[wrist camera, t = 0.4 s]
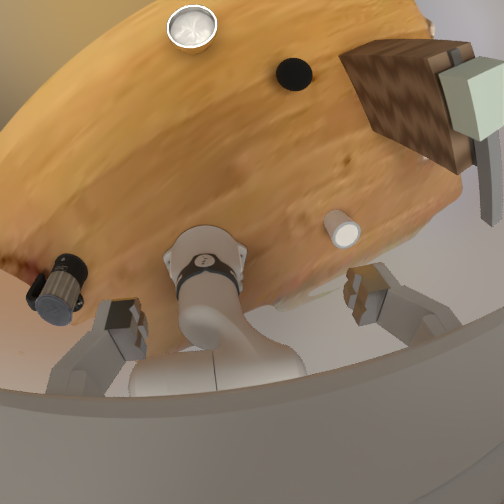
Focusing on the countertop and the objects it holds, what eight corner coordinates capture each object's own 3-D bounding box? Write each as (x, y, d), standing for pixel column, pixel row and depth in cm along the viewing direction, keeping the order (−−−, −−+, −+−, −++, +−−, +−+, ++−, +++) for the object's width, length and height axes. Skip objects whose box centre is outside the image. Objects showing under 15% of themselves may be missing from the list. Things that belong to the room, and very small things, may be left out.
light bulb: (301, 65, 46) (322, 64, 38) (293, 92, 49) (311, 97, 41) (272, 55, 45) (287, 52, 36) (263, 83, 48) (276, 86, 39)
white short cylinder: (324, 237, 69) (335, 253, 64) (317, 213, 65) (329, 229, 60) (349, 226, 69) (362, 241, 63) (344, 202, 65) (358, 216, 59)
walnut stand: (405, 112, 54) (496, 151, 32) (373, 130, 56) (460, 177, 34) (375, 40, 44) (474, 42, 22) (338, 55, 46) (431, 59, 24)
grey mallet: (500, 199, 37) (518, 213, 33) (466, 227, 39) (485, 243, 35) (480, 56, 23) (506, 61, 19) (438, 74, 25) (467, 80, 21)
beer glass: (211, 19, 39) (216, 0, 27) (215, 53, 43) (221, 45, 31) (172, 25, 38) (162, 8, 26) (176, 59, 42) (167, 54, 30)
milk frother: (75, 247, 59) (54, 290, 47) (109, 295, 68) (97, 340, 56) (36, 266, 60) (14, 306, 48) (70, 309, 69) (56, 351, 57)
